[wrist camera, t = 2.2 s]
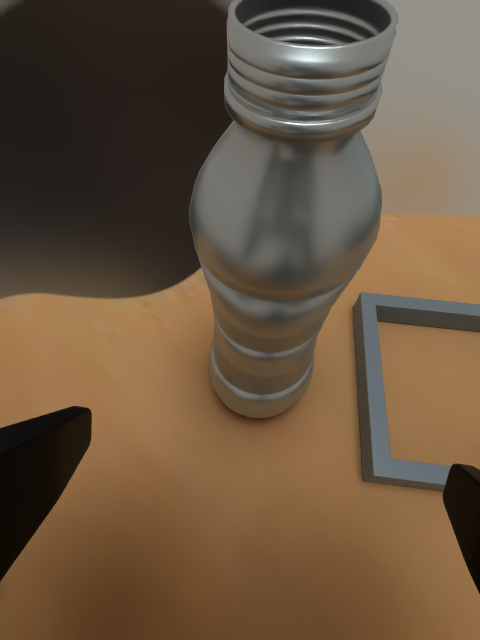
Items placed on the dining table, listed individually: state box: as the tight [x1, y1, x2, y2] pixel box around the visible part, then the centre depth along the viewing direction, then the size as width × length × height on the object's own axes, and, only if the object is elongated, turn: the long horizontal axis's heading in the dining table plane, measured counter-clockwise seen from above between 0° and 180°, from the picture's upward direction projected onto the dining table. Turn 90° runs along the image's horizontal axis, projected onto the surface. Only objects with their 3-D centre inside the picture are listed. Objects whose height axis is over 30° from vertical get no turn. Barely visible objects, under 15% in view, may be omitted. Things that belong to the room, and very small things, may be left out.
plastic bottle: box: [189, 0, 398, 418], centre depth 16 cm, size 6×7×20 cm
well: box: [353, 292, 480, 491], centre depth 23 cm, size 12×12×2 cm
